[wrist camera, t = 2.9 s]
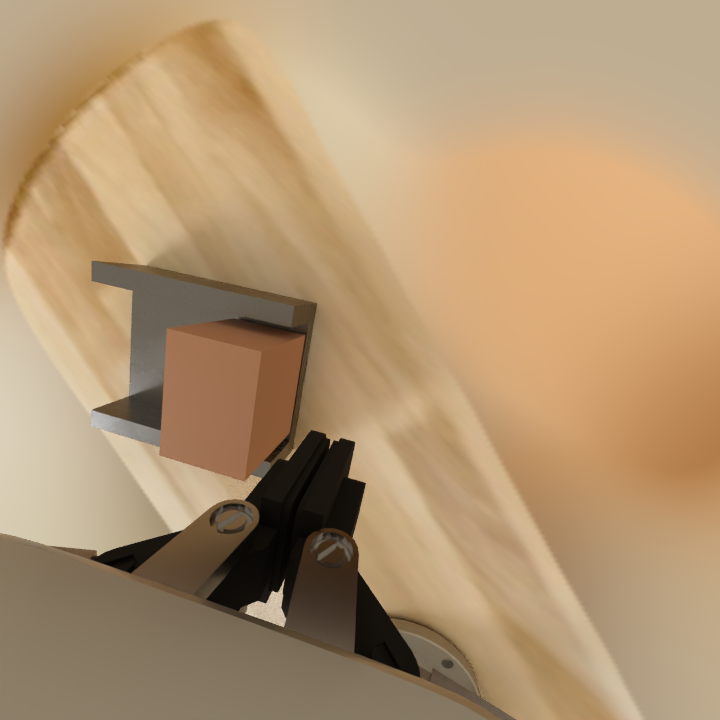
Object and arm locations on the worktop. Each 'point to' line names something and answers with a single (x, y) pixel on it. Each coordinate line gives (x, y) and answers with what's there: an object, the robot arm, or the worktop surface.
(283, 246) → the worktop surface
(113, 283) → the chute
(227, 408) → the block
